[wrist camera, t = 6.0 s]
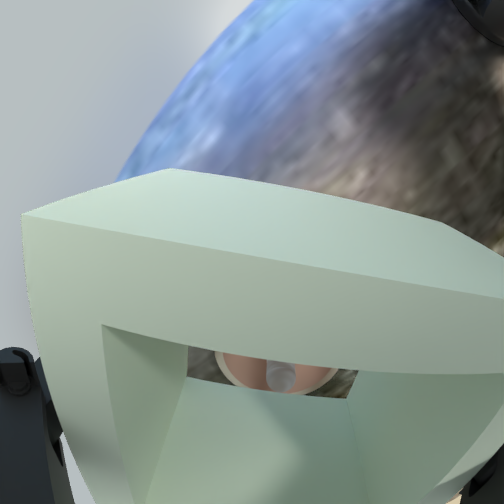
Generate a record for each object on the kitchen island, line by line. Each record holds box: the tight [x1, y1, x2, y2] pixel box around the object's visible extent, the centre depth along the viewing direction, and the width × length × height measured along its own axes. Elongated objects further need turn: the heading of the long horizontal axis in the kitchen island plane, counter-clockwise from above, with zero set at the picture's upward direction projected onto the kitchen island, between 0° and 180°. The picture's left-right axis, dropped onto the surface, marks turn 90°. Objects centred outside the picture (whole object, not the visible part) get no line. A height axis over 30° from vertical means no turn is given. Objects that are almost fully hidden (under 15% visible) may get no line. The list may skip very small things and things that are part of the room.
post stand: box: [215, 351, 339, 395], centre depth 33 cm, size 15×15×8 cm
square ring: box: [21, 168, 504, 504], centre depth 9 cm, size 11×11×8 cm
